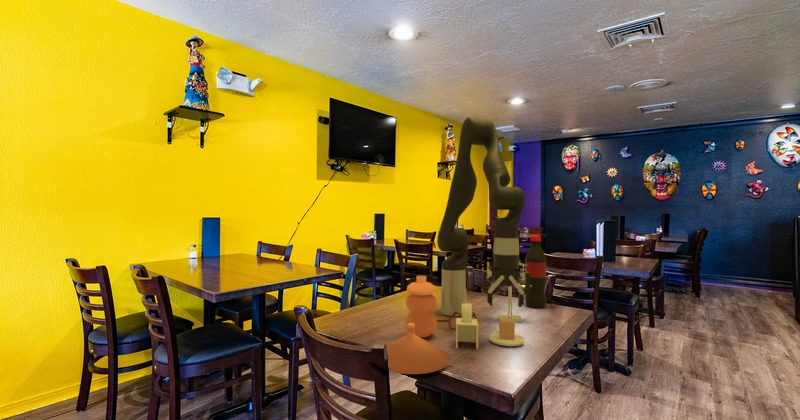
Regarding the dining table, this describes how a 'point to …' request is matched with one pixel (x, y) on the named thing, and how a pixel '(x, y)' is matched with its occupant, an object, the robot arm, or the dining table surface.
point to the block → (507, 329)
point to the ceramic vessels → (417, 334)
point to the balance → (510, 316)
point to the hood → (466, 326)
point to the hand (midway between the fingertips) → (505, 305)
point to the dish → (496, 339)
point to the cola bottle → (536, 274)
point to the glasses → (455, 317)
